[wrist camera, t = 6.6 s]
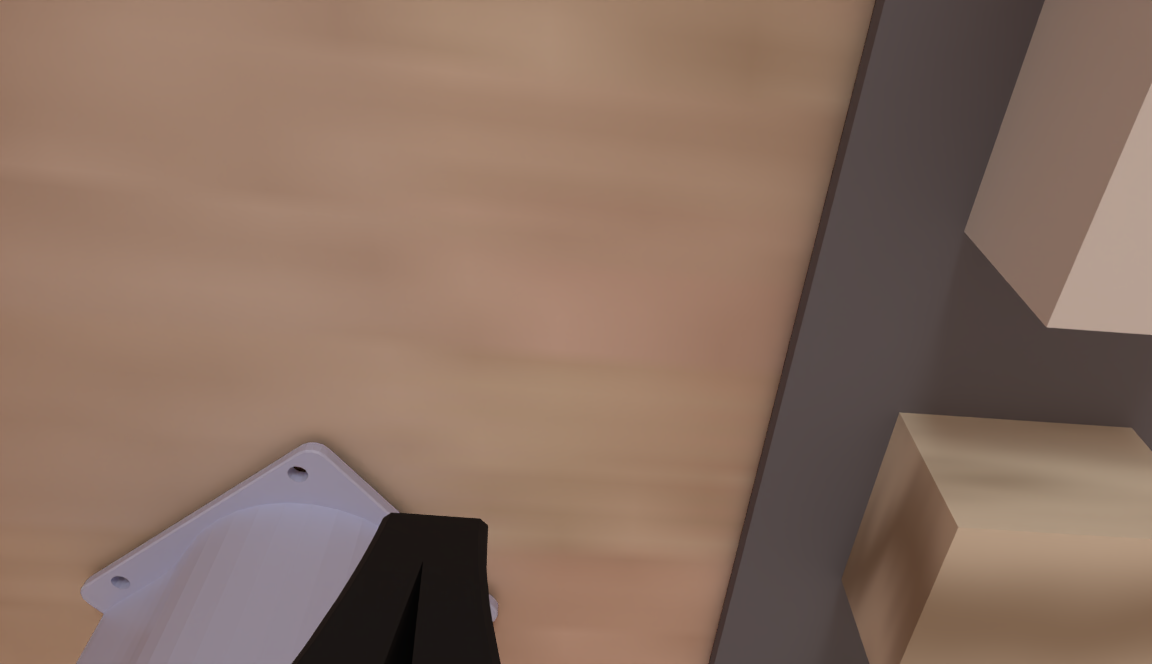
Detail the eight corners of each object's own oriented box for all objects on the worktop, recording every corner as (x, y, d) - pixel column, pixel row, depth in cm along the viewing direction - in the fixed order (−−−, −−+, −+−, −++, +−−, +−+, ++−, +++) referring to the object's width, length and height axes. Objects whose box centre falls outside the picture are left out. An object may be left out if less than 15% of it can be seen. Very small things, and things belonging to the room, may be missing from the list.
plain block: (1045, 591, 26) (1117, 715, 22) (841, 579, 25) (882, 703, 22) (1131, 427, 22) (1231, 543, 19) (899, 412, 22) (958, 527, 19)
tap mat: (999, 810, 32) (1005, 823, 32) (675, 795, 32) (677, 809, 31) (1538, -82, 17) (1564, -79, 16) (911, -143, 16) (921, -141, 16)
